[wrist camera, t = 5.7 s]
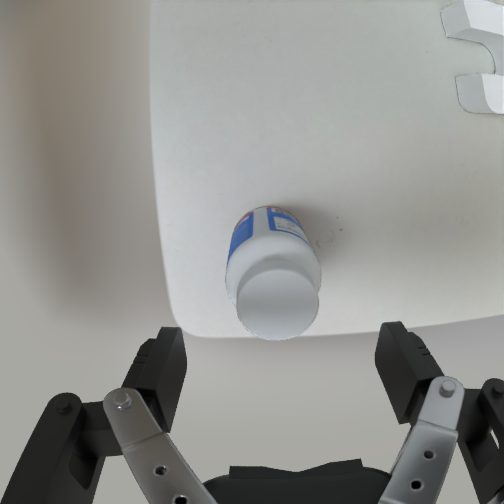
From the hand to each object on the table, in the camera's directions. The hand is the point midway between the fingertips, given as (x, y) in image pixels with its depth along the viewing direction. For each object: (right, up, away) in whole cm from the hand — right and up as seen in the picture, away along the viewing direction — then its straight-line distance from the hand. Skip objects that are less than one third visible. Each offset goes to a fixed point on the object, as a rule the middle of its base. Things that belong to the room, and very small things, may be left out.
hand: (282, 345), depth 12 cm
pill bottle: (0, +5, +12) cm, 13 cm away
